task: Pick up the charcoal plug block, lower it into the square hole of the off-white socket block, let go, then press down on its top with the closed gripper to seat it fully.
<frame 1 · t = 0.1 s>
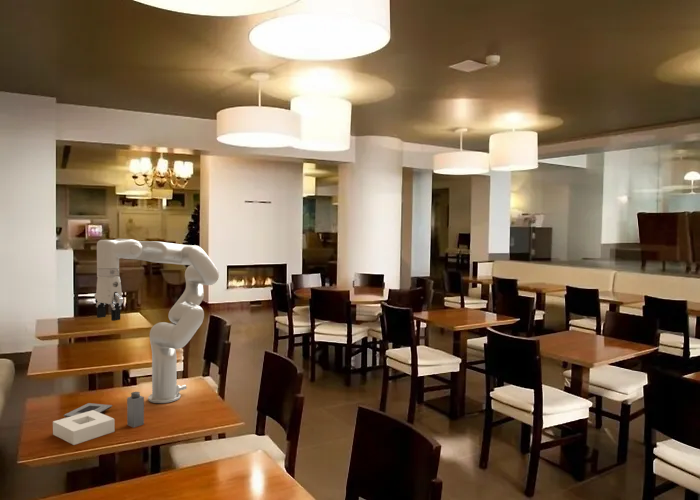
hand: (108, 318, 194), 37 cm above the table, tool pointing down, fingers open, 9 cm apart
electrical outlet: (88, 415, 196), on the table
socket: (84, 433, 179), on the table
plug: (135, 424, 187), on the table
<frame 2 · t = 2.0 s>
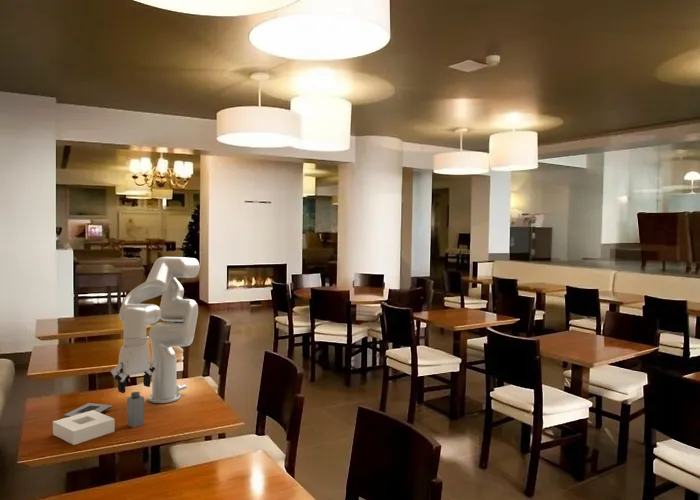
hand: (134, 389, 186), 13 cm above the table, tool pointing down, fingers open, 9 cm apart
nothing on the table moved.
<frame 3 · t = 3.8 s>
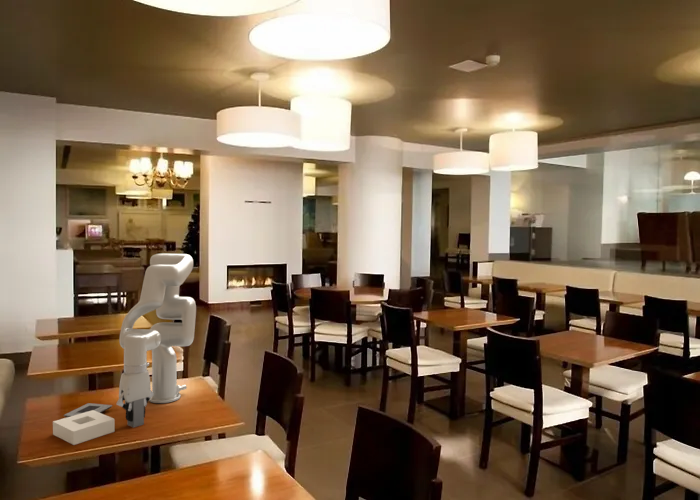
hand: (135, 418, 187), 2 cm above the table, tool pointing down, fingers closed on plug, 4 cm apart
plug: (135, 424, 187), on the table, touching gripper
everything else where it was.
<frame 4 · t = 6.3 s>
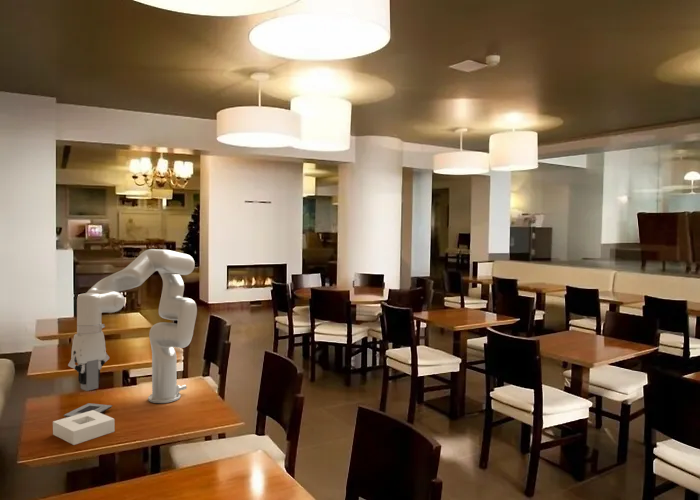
hand: (89, 381, 179), 18 cm above the table, tool pointing down, fingers closed on plug, 4 cm apart
plug: (89, 388, 179), point 15 cm above the table, touching gripper
everything else where it was.
when the fingers open (5 cm above the table, at t = 9.1 s): plug drops 3 cm, resting on socket.
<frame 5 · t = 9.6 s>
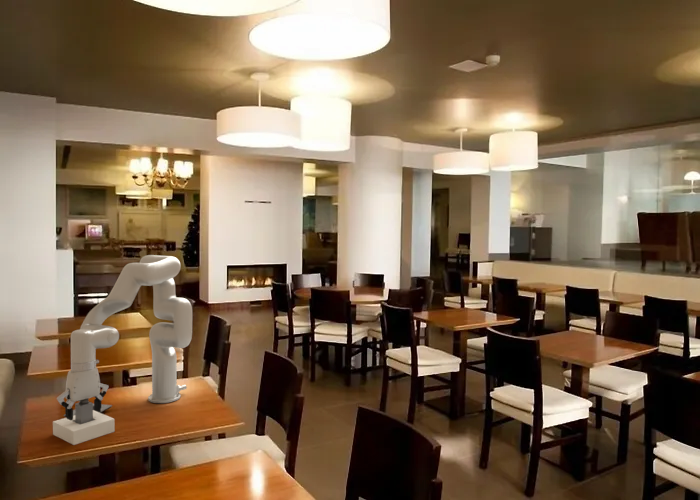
hand: (83, 415, 178), 6 cm above the table, tool pointing down, fingers open, 9 cm apart
plug: (84, 431, 179), resting on socket
everything else where it was.
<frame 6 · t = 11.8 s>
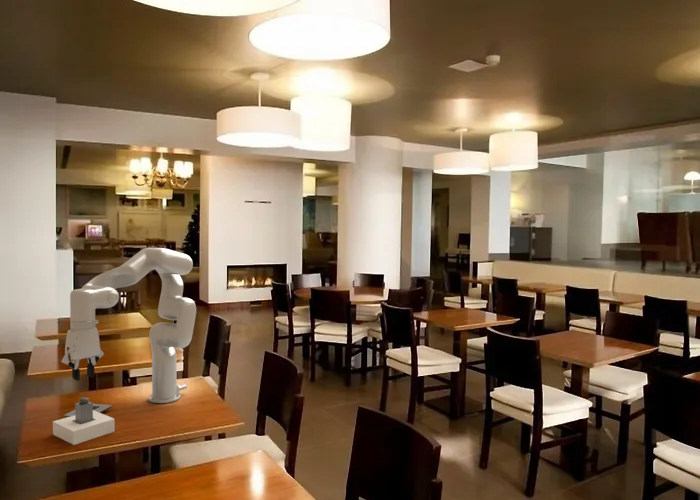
hand: (83, 377, 178), 19 cm above the table, tool pointing down, fingers open, 4 cm apart
nothing on the table moved.
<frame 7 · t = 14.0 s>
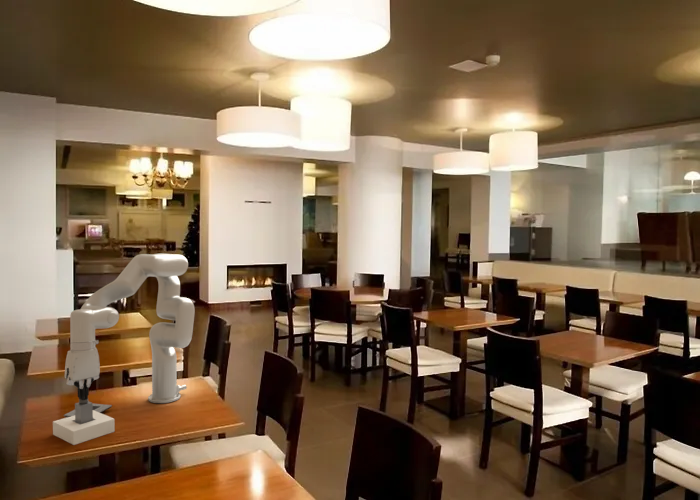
hand: (83, 398, 178), 12 cm above the table, tool pointing down, fingers closed
plug: (84, 431, 179), resting on socket, touching gripper
everything else where it was.
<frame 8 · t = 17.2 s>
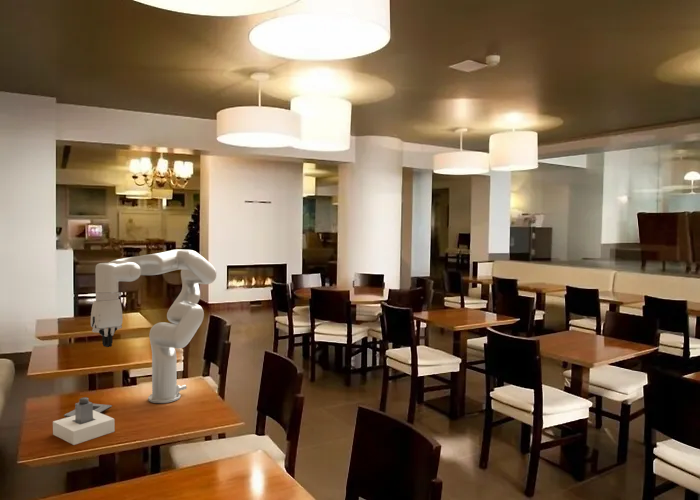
hand: (107, 346, 191), 27 cm above the table, tool pointing down, fingers closed
plug: (84, 431, 179), resting on socket
everything else where it was.
at the end: plug 0.1 cm off-centre on the socket, point 0.4 cm above the socket's base; plug tilted 0°; the gripper is holding nothing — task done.
